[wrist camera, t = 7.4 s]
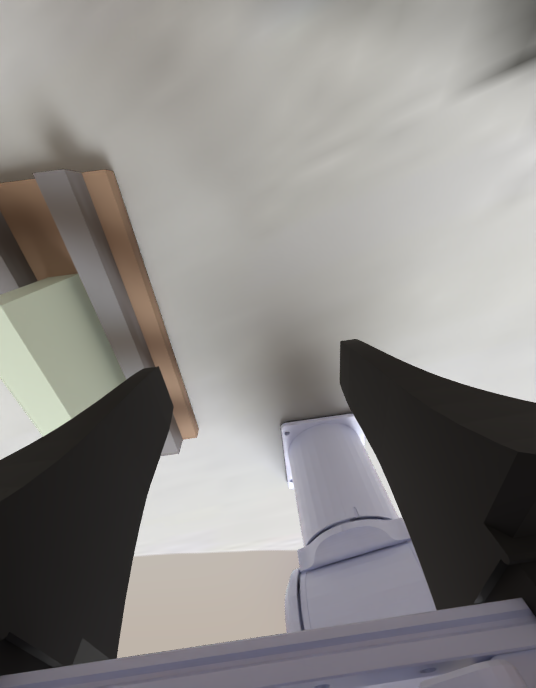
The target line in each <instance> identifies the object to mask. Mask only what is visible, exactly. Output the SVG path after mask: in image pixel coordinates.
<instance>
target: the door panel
mask: <svg viewBox="0 0 536 688" xmlns="http://www.w3.org/2000/svg"><path fill="white" fill-rule="evenodd" d="M0 379H1V380H2V381H3V383H4V384H5V386H6V387H7V388H8V390H9V391H10V392H11V394H12V395H13V396H14V398H15V399H16V401H17V402H18V403H19V405H20V406H21V407H22V409H23V410H24V412H25V413H26V414H27V416H28V417H29V418H30V420H31V421H32V422H33V424H34V425H35V427H36V428H37V429H38V431H39V432H40V433H41V435H42V436H45V435H47V434H48V433H50V432H52V431H53V430H55V429H57V428H58V427H60V426H61V425H63V424H65V423H66V422H68V421H69V420H71V419H72V418H74V417H75V416H76V415H78V414H79V413H81V412H82V411H84V410H85V409H87V408H88V407H89V406H91V405H92V404H94V403H95V402H97V401H98V400H100V399H101V398H102V397H104V396H105V395H106V394H108V393H109V392H110V391H112V390H113V389H114V388H116V387H117V386H118V385H120V384H121V383H123V382H124V381H125V380H126V378H125V375H124V373H123V371H122V369H121V367H120V364H119V362H118V360H117V358H116V356H115V353H114V351H113V349H112V347H111V345H110V342H109V340H108V338H107V336H106V334H105V331H104V329H103V327H102V325H101V323H100V320H99V318H98V316H97V314H96V312H95V309H94V307H93V305H92V303H91V301H90V298H89V296H88V294H87V292H86V290H85V287H84V285H83V283H82V281H81V279H80V276H79V274H70V275H63V276H55V277H48V278H45V279H43V280H40V281H37V282H34V283H32V284H29V285H26V286H23V287H20V288H18V289H15V290H12V291H9V292H7V293H4V294H1V295H0Z"/></svg>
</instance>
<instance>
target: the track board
mask: <svg viewBox="0 0 536 688" xmlns="http://www.w3.org/2000/svg"><path fill="white" fill-rule="evenodd" d="M33 175H34V177H35V179H28V180H20V181H12V182H5V183H0V295H1V294H4V293H7V292H9V291H12V290H15V289H18V288H20V287H23V286H26V285H29V284H32V283H34V282H37V281H40V280H43V279H45V278H48V277H55V276H63V275H70V274H79V276H80V279H81V281H82V283H83V285H84V287H85V290H86V292H87V294H88V296H89V298H90V301H91V303H92V305H93V307H94V309H95V312H96V314H97V316H98V318H99V320H100V323H101V325H102V327H103V329H104V331H105V334H106V336H107V338H108V340H109V342H110V345H111V347H112V349H113V351H114V353H115V356H116V358H117V360H118V362H119V364H120V367H121V369H122V371H123V373H124V375H125V378H126V380H127V379H128V378H129V377H131V376H132V375H134V374H135V373H137V372H138V371H140V370H142V369H143V368H150V367H157V366H159V368H160V371H161V373H162V376H163V379H164V381H165V384H166V387H167V389H168V392H169V395H170V398H171V400H172V403H173V406H174V408H173V414H172V420H171V424H170V429H169V432H168V435H167V438H166V441H165V444H164V447H163V450H162V453H161V456H165V455H173V454H179V452H180V448H181V445H182V441H183V439H190V438H197V435H198V430H199V428H198V425H197V422H196V419H195V416H194V413H193V410H192V407H191V404H190V401H189V398H188V395H187V392H186V389H185V386H184V383H183V380H182V377H181V374H180V371H179V368H178V365H177V362H176V359H175V356H174V353H173V350H172V347H171V344H170V341H169V338H168V335H167V332H166V329H165V326H164V323H163V320H162V317H161V314H160V311H159V308H158V305H157V302H156V299H155V296H154V293H153V289H152V286H151V283H150V280H149V277H148V274H147V271H146V268H145V265H144V262H143V259H142V256H141V253H140V250H139V247H138V244H137V241H136V238H135V235H134V232H133V229H132V226H131V223H130V220H129V217H128V214H127V211H126V208H125V205H124V202H123V199H122V196H121V193H120V190H119V187H118V184H117V181H116V178H115V175H114V172H113V171H109V170H97V171H89V172H82V173H81V172H76V171H71V170H66V169H60V170H53V171H45V172H37V173H33Z"/></svg>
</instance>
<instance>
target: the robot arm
mask: <svg viewBox="0 0 536 688" xmlns="http://www.w3.org/2000/svg"><path fill="white" fill-rule="evenodd" d="M340 385H341V388H342V390H343V393H344V396H345V398H346V401H347V403H348V405H349V407H350V409H351V411H352V414H344V415H337V416H330V417H323V418H316V419H309V420H302V421H295V422H288V423H283V424H282V425H281V433H282V441H283V449H284V457H285V465H286V473H287V480H288V487H289V488H290V489H294V490H295V496H296V502H297V508H298V514H299V520H300V526H301V531H302V537H303V543H304V548H301V549H299V550H298V551H297V552H298V558H299V565H300V568H297V569H294V570H293V571H292V573H291V576H290V579H289V583H288V585H287V589H286V594H285V595H286V596H285V620H286V630H287V633H283V634H276V635H270V636H263V637H256V638H250V639H243V640H236V641H230V642H223V643H216V644H210V645H203V646H196V647H190V648H183V649H176V650H170V651H163V652H157V653H150V654H143V655H137V656H130V657H123V658H117V651H118V644H119V638H120V631H121V625H122V618H123V612H124V605H125V599H126V593H127V588H128V583H129V577H130V571H131V566H132V560H133V556H134V551H135V546H136V541H137V537H138V532H139V527H140V523H141V519H142V515H143V510H144V506H145V502H146V498H147V494H148V491H149V488H150V484H151V482H152V479H153V476H154V473H155V470H156V467H157V464H158V461H159V459H160V456H161V453H162V450H163V447H164V444H165V441H166V438H167V435H168V432H169V429H170V424H171V420H172V414H173V408H174V406H173V403H172V400H171V398H170V395H169V392H168V389H167V387H166V384H165V381H164V379H163V376H162V373H161V371H160V368H159V366H157V367H150V368H143V369H142V370H140V371H138V372H137V373H135V374H134V375H132V376H131V377H129V378H128V379H127V380H125V381H124V382H123V383H121V384H120V385H118V386H117V387H116V388H114V389H113V390H112V391H110V392H109V393H108V394H106V395H105V396H104V397H102V398H101V399H100V400H98V401H97V402H95V403H94V404H92V405H91V406H89V407H88V408H87V409H85V410H84V411H82V412H81V413H79V414H78V415H76V416H75V417H74V418H72V419H71V420H69V421H68V422H66V423H65V424H63V425H61V426H60V427H58V428H57V429H55V430H53V431H52V432H50V433H48V434H47V435H45V436H43V437H42V438H40V439H38V440H37V441H35V442H33V443H31V444H30V445H28V446H26V447H24V448H22V449H20V450H18V451H17V452H15V453H13V454H11V455H9V456H7V457H5V458H3V459H2V460H0V688H536V403H534V402H529V401H525V400H520V399H516V398H512V397H508V396H503V395H499V394H496V393H492V392H488V391H485V390H481V389H477V388H474V387H470V386H467V385H464V384H461V383H458V382H455V381H452V380H449V379H446V378H443V377H440V376H437V375H435V374H432V373H429V372H427V371H424V370H422V369H420V368H417V367H415V366H412V365H410V364H408V363H406V362H403V361H401V360H399V359H397V358H395V357H393V356H391V355H388V354H386V353H384V352H382V351H380V350H378V349H376V348H374V347H372V346H370V345H368V344H366V343H364V342H362V341H360V340H357V339H353V340H346V341H340ZM286 431H288V432H286ZM365 436H366V438H367V440H368V442H369V443H370V445H371V447H372V449H373V451H374V453H375V455H376V457H377V459H378V461H379V463H380V465H381V467H382V469H383V472H384V474H385V476H386V479H387V481H388V483H389V486H390V488H391V490H392V493H393V495H394V498H395V500H396V503H397V505H398V507H399V510H400V512H401V515H402V517H403V519H402V518H399V517H398V515H397V513H396V511H395V509H394V507H393V505H392V503H391V501H390V499H389V497H388V495H387V492H386V490H385V488H384V486H383V484H382V482H381V480H380V478H379V476H378V474H377V472H376V470H375V468H374V466H373V464H372V462H371V460H370V458H369V456H368V454H367V452H366V450H365V448H364V444H365Z"/></svg>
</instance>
